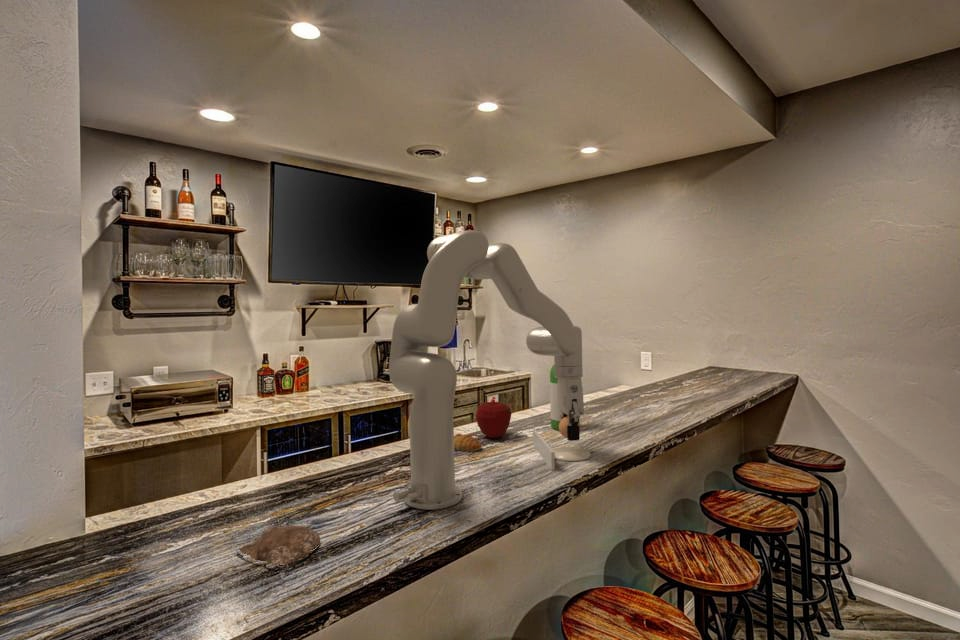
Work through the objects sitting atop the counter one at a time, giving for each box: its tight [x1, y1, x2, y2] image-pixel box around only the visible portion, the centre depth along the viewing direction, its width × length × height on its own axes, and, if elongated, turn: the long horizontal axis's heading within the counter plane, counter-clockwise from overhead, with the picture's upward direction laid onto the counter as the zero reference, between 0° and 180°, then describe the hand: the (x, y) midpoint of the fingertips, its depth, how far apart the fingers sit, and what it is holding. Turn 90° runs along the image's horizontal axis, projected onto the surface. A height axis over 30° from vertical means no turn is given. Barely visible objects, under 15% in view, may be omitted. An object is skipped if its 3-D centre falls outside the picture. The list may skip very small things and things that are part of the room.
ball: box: [558, 417, 582, 439], centre depth 136 cm, size 6×6×6 cm
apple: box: [475, 400, 512, 439], centre depth 155 cm, size 11×11×12 cm
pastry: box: [454, 433, 482, 453], centre depth 145 cm, size 9×7×4 cm
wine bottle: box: [549, 363, 574, 431], centre depth 164 cm, size 8×8×30 cm
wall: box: [532, 429, 556, 471], centre depth 135 cm, size 22×1×4 cm, turn 6°
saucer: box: [551, 446, 591, 463], centre depth 136 cm, size 11×11×1 cm
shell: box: [239, 524, 321, 565], centre depth 87 cm, size 12×13×4 cm
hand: (570, 436), depth 136 cm, fingers closed on ball, 5 cm apart
